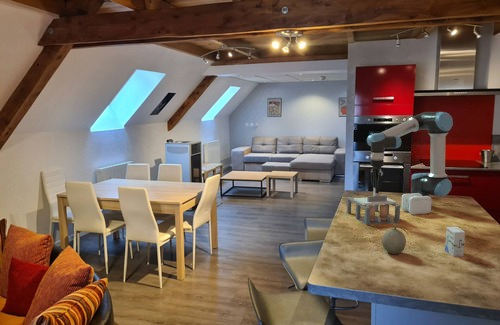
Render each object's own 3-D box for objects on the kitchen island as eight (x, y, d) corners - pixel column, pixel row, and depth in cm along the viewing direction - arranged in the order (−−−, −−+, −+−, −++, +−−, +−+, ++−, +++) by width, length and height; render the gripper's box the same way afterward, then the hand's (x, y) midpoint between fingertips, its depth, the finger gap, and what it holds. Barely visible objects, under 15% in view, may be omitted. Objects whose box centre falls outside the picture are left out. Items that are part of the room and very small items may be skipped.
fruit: (405, 259, 176) (406, 227, 174) (379, 254, 182) (380, 223, 180) (409, 251, 185) (410, 221, 183) (384, 247, 191) (385, 218, 189)
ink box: (444, 249, 187) (445, 226, 185) (454, 249, 187) (456, 226, 185) (453, 256, 178) (454, 232, 177) (464, 256, 178) (465, 231, 176)
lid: (384, 198, 245) (384, 191, 244) (396, 203, 231) (396, 196, 231) (353, 200, 241) (353, 193, 241) (364, 205, 228) (364, 198, 227)
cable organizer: (421, 209, 259) (422, 192, 258) (431, 213, 249) (432, 196, 247) (400, 211, 256) (401, 194, 255) (410, 215, 246) (411, 197, 245)
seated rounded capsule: (372, 219, 236) (373, 205, 235) (376, 221, 232) (376, 207, 230) (365, 220, 235) (366, 205, 234) (369, 222, 231) (369, 207, 230)
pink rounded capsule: (384, 218, 238) (385, 204, 236) (388, 220, 233) (389, 206, 232) (377, 219, 237) (378, 204, 236) (381, 221, 232) (382, 206, 231)
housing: (376, 211, 256) (377, 195, 254) (399, 223, 229) (400, 205, 228) (346, 213, 252) (347, 197, 250) (366, 226, 226) (366, 207, 224)
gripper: (366, 158, 237) (365, 196, 240) (376, 161, 224) (375, 200, 227) (377, 157, 238) (376, 195, 241) (388, 160, 225) (387, 200, 229)
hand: (375, 198), depth 234 cm, fingers closed
